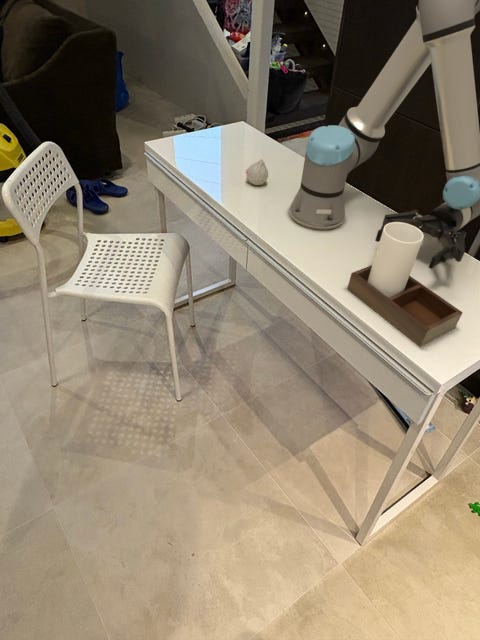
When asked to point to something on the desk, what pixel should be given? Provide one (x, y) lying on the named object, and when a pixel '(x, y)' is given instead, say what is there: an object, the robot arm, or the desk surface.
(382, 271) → the cup
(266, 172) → the garlic bulb
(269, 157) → the desk surface
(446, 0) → the robot arm
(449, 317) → the holder
